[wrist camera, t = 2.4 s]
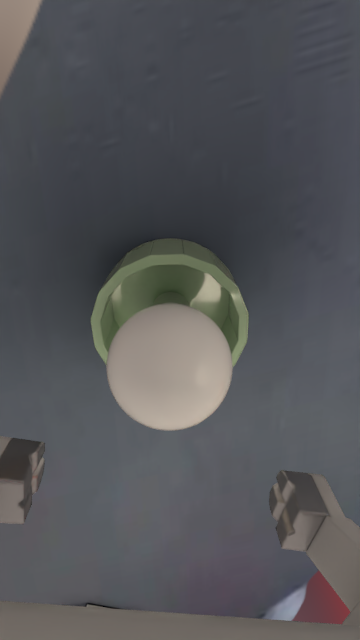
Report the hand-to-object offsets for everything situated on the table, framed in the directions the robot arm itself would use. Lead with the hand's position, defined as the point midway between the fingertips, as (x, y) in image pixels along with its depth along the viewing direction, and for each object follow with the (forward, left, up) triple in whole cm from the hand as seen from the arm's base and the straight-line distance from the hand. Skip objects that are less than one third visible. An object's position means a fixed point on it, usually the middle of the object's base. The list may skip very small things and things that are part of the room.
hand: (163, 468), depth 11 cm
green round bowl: (0, 0, -14) cm, 14 cm away
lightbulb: (0, 0, -14) cm, 14 cm away
